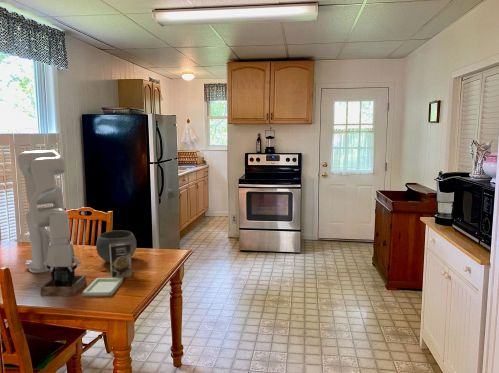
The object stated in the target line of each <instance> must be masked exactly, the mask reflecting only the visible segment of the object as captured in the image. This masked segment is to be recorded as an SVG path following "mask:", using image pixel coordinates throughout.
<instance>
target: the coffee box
mask: <svg viewBox="0 0 499 373" xmlns="http://www.w3.org/2000/svg"><path fill="white" fill-rule="evenodd" d="M109 248H110V262H109V266H110V278H123V279H124V278H129V277H132V276H133V275H132V274H133V273H132V272H133V271H132V257H131V247H130V243H129V242H128V241H127V242H119V243H111V244H109Z"/></svg>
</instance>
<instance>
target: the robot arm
mask: <svg viewBox="0 0 499 373" xmlns="http://www.w3.org/2000/svg"><path fill="white" fill-rule="evenodd" d="M17 165H18V167H19V170H20V172H21V174H22V176H23V180H24V183H25V184H24V186H25V194H26V195H25V196H26V199H27V200H26V201H27V203H28V204H29V205H28V208H29V210H27V211H26V213H25V221H26V224H27V228H28V234H29V241H30V242H29V244H30V253H31V254H30V255H31V260H25V261H24V262H25V263H24V266H29V272H30V273H33V274H40V273H41V274H42V273H43V274H44V273H48V272H50V274H51V275H50V276H51V279H52V280H55V279H54V270H55V269H56V267H68V268H69V270H70V272H69V280H72V279H73V278H74V277H75V275H76V274H75V270H76V269H77V268H78V267H79V266H80V264H81V263H82V262H81V260H79V259H78V258H77V257H76V255H75V250H74V246H73V243H72V241H71V237H70V236H71V234H70V224H69V223H70V221H69V220H70V219H69V214H68V212H67V210H65V203H64V196H63V191H62V187H60V185H58V184H57V183H56V178H55V176H58V175H59V176H60V175H63V174H65V173H66V171H67V166H66V165H67V164H66V162H65V160H64V158H63V157H62V156H61V155H60V154H59V153H58V152H57V151H56V150H30V151H23V152H21V153H18V155H17ZM49 204H51V206H42V205H49ZM38 206H40V207H38ZM41 206H42V207H41ZM47 228H49V230H48V229H47ZM74 263H75V264H74Z"/></svg>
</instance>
